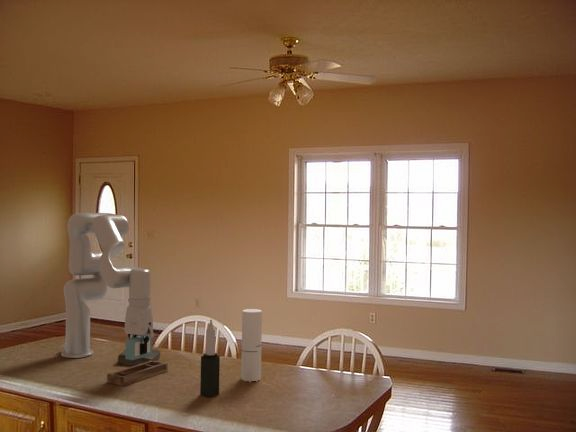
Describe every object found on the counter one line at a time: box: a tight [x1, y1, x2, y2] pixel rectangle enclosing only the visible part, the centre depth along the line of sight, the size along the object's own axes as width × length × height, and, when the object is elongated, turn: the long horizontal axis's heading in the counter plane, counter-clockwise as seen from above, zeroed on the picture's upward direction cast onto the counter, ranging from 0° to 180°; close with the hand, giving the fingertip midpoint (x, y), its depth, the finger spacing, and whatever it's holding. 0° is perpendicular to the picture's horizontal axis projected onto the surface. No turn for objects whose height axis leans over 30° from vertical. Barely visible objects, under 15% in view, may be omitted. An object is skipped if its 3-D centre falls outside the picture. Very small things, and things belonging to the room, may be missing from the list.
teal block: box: [124, 335, 153, 360], centre depth 207 cm, size 4×10×7 cm, turn 151°
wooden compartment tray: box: [106, 360, 169, 387], centre depth 207 cm, size 8×22×3 cm, turn 151°
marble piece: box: [117, 348, 161, 367], centre depth 227 cm, size 17×15×4 cm
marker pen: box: [199, 319, 221, 398], centre depth 188 cm, size 5×5×25 cm
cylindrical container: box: [240, 308, 263, 383], centre depth 206 cm, size 7×7×25 cm
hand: (139, 352), depth 207 cm, fingers closed on teal block, 3 cm apart
